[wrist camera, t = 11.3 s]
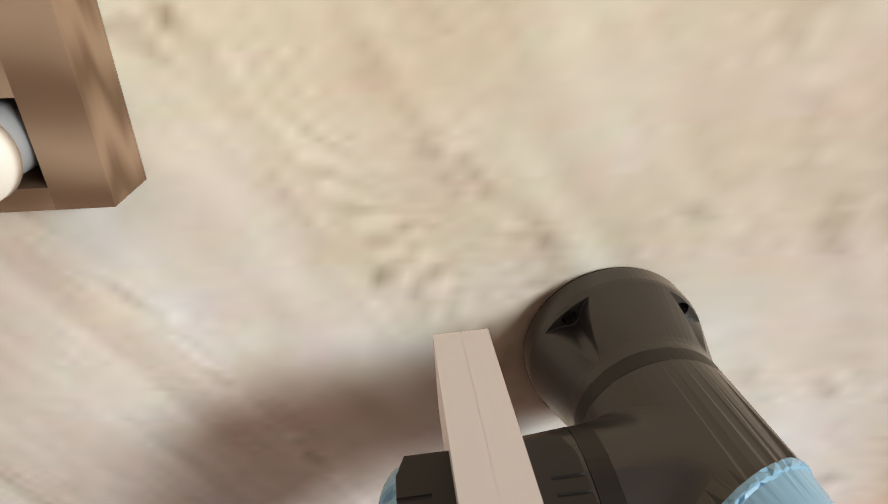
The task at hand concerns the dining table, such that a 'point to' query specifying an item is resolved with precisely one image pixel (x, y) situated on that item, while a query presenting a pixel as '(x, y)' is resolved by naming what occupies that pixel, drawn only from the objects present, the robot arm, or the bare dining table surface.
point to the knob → (13, 148)
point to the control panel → (67, 106)
